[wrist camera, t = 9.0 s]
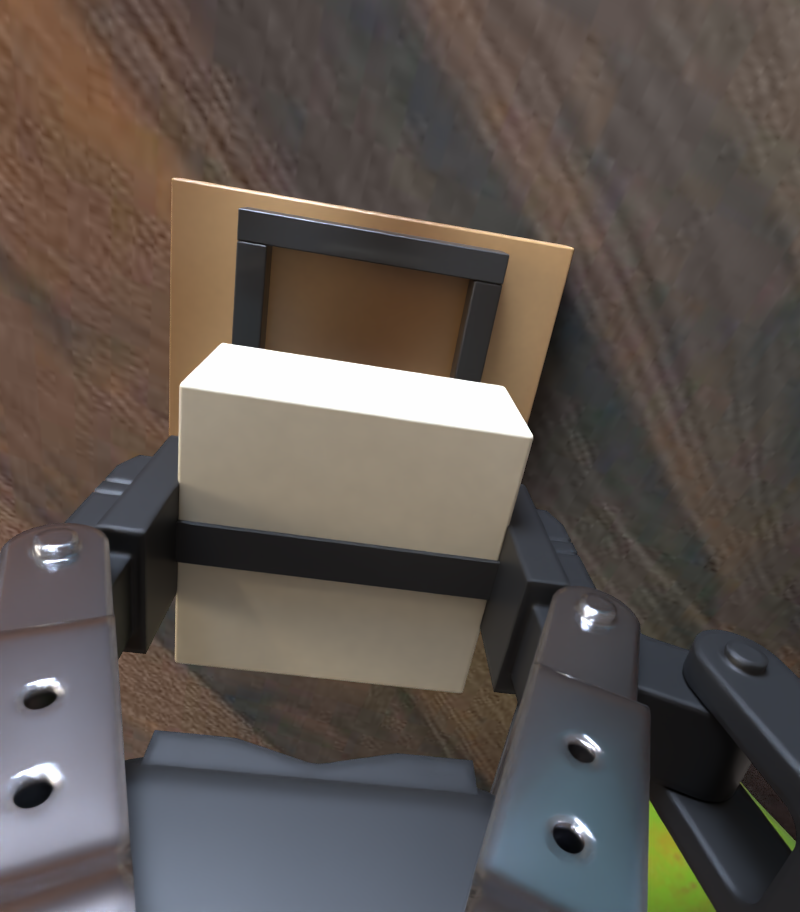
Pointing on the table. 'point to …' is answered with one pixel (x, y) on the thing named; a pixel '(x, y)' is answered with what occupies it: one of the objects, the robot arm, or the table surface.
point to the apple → (680, 870)
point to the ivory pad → (340, 517)
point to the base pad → (357, 289)
